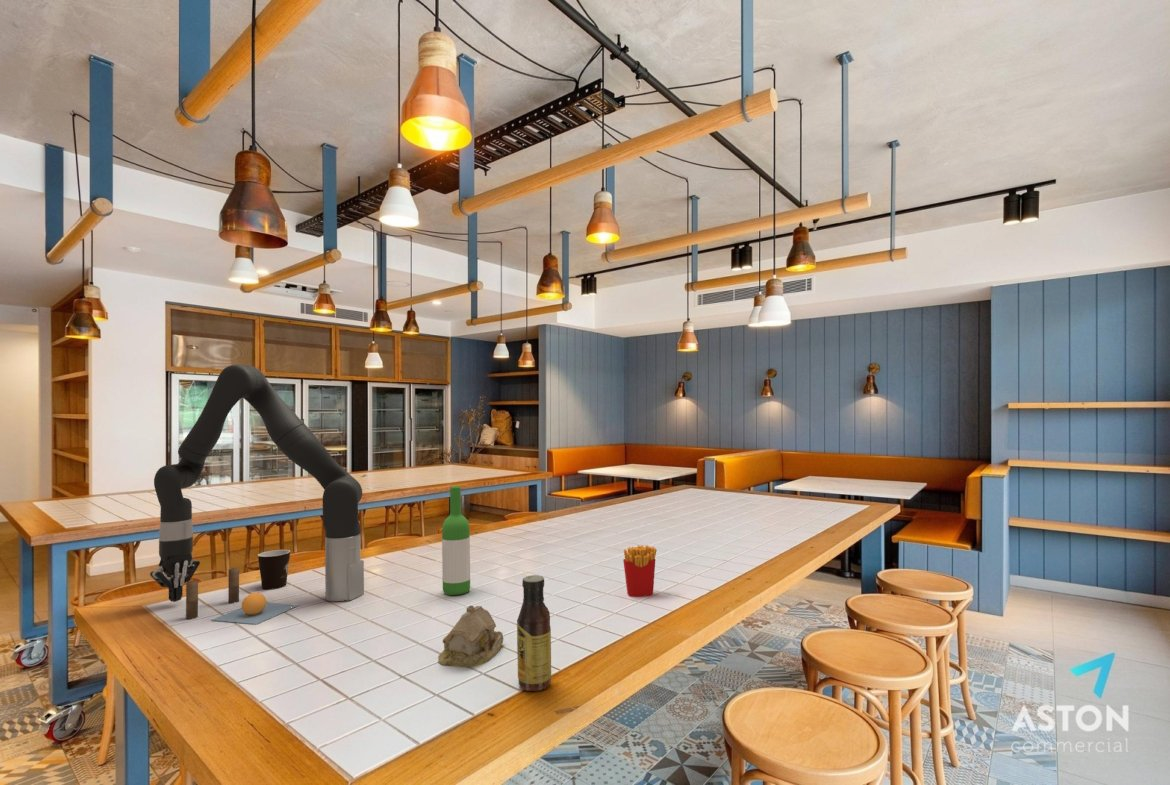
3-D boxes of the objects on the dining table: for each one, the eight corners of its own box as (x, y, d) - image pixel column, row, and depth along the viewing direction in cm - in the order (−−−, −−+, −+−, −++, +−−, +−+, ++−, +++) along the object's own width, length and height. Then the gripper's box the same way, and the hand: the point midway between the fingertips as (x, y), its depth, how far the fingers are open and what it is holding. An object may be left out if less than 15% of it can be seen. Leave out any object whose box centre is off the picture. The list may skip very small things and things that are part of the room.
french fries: (626, 597, 152) (625, 549, 153) (623, 593, 157) (621, 546, 157) (659, 595, 154) (658, 547, 155) (654, 590, 158) (653, 543, 159)
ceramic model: (473, 672, 110) (472, 621, 111) (428, 663, 115) (427, 613, 115) (512, 645, 123) (511, 599, 123) (470, 637, 128) (469, 593, 128)
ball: (269, 588, 148) (253, 591, 149) (250, 594, 142) (235, 597, 144) (272, 609, 147) (257, 612, 149) (254, 616, 142) (238, 619, 143)
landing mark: (298, 605, 152) (298, 604, 152) (256, 624, 138) (256, 623, 138) (256, 602, 155) (256, 601, 155) (211, 620, 142) (211, 619, 142)
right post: (241, 600, 157) (241, 568, 157) (233, 603, 155) (233, 570, 155) (233, 599, 158) (234, 567, 158) (226, 602, 155) (226, 570, 156)
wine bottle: (446, 598, 155) (445, 489, 157) (439, 590, 162) (438, 486, 164) (473, 593, 159) (472, 487, 160) (466, 586, 166) (465, 484, 167)
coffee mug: (276, 591, 165) (276, 557, 165) (250, 590, 167) (251, 556, 167) (303, 579, 176) (303, 547, 177) (279, 578, 178) (279, 547, 178)
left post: (200, 616, 145) (200, 581, 145) (191, 619, 143) (191, 583, 143) (192, 615, 146) (192, 580, 146) (183, 619, 143) (183, 583, 144)
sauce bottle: (518, 678, 107) (516, 573, 108) (551, 676, 107) (549, 571, 108) (517, 695, 100) (515, 583, 101) (552, 693, 101) (550, 581, 102)
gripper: (163, 542, 147) (162, 609, 146) (208, 532, 160) (208, 594, 159) (141, 541, 149) (140, 608, 148) (187, 531, 162) (187, 592, 161)
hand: (175, 600), depth 154 cm, fingers closed
